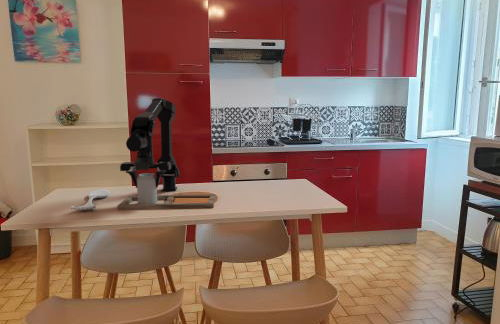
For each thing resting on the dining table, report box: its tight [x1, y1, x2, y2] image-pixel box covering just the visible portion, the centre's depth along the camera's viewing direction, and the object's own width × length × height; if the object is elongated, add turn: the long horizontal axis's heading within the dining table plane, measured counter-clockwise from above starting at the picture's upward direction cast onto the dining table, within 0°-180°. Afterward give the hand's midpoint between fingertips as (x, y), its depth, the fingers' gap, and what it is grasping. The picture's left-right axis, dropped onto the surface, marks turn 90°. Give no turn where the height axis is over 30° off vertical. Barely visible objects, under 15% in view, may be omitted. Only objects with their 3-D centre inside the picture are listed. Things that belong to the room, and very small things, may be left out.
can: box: [136, 172, 158, 204], centre depth 154 cm, size 8×8×12 cm
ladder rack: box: [116, 193, 216, 211], centre depth 155 cm, size 16×36×2 cm, turn 92°
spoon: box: [70, 188, 111, 211], centre depth 156 cm, size 9×32×4 cm, turn 9°
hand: (147, 187), depth 154 cm, fingers closed on can, 7 cm apart
